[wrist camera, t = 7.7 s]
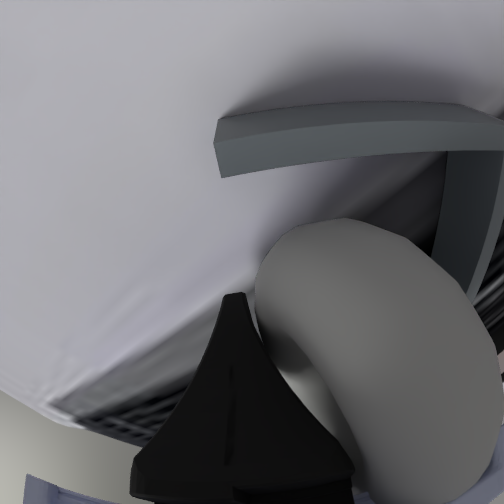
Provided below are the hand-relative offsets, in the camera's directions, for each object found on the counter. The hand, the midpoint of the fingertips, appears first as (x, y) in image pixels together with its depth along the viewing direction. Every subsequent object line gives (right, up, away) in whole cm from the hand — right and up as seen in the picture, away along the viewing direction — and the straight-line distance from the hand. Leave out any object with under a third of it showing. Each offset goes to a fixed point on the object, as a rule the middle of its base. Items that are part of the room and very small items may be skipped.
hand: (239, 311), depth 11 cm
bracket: (+5, +2, +1) cm, 5 cm away
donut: (+2, +1, +1) cm, 2 cm away
